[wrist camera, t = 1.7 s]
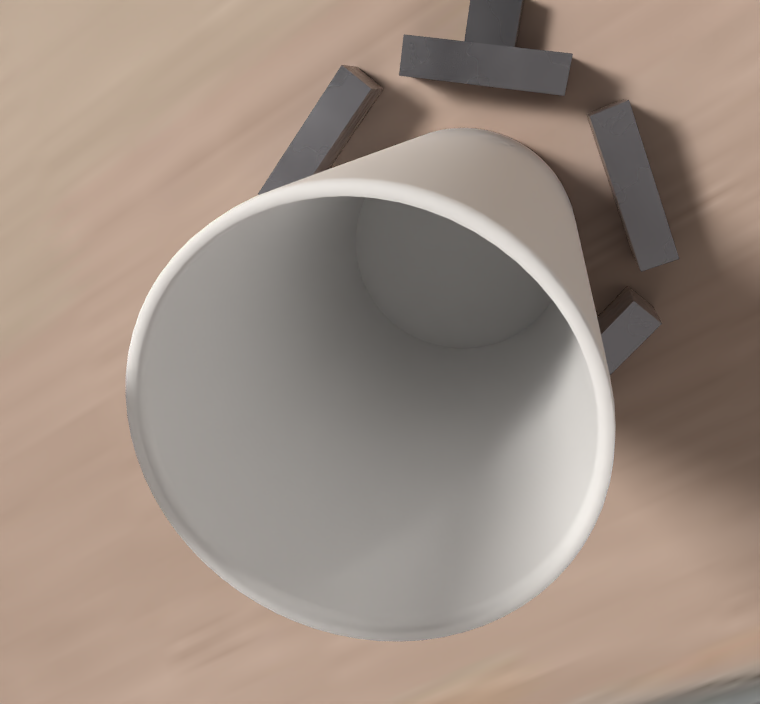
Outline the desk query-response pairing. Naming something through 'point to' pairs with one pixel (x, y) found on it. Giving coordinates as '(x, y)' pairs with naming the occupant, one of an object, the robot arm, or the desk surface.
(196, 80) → the desk surface
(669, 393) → the desk surface
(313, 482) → the cup
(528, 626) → the desk surface
